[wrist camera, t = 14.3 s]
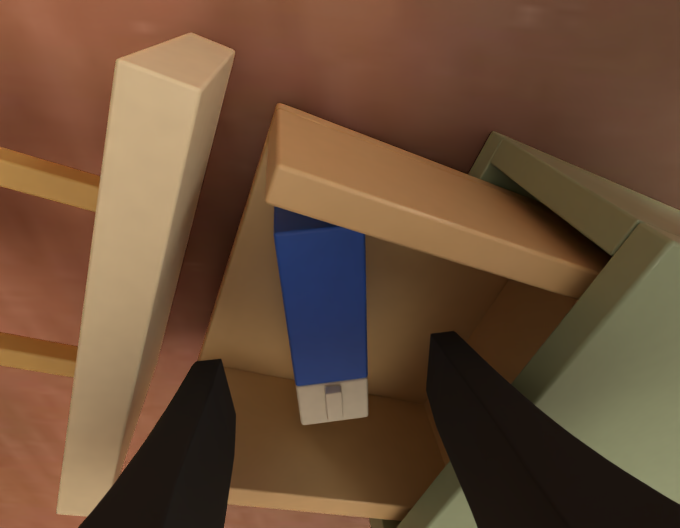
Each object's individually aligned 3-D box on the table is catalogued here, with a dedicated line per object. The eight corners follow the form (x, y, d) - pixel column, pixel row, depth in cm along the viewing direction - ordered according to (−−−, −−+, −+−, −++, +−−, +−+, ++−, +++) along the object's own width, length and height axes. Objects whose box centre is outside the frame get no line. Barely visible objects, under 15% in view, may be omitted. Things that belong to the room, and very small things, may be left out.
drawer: (-29, 328, 15) (-187, 496, 10) (-37, -61, 9) (-384, -128, 5) (415, 409, 20) (461, 547, 15) (568, 185, 15) (717, 281, 10)
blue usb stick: (274, 191, 12) (272, 239, 10) (350, 184, 12) (368, 229, 10) (298, 368, 16) (301, 435, 13) (356, 360, 16) (370, 425, 14)
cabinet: (346, 391, 20) (379, 583, 13) (491, 129, 14) (673, 240, 8) (572, 434, 24) (682, 597, 17) (756, 243, 18) (1025, 379, 12)
